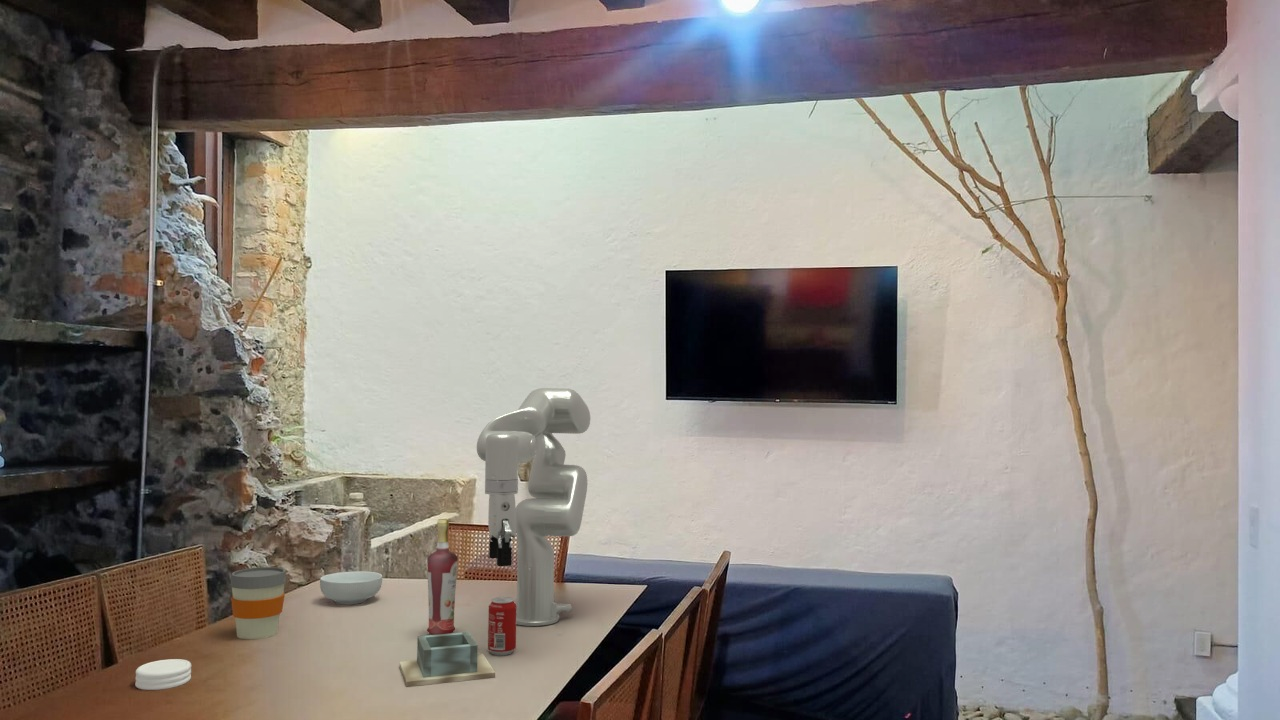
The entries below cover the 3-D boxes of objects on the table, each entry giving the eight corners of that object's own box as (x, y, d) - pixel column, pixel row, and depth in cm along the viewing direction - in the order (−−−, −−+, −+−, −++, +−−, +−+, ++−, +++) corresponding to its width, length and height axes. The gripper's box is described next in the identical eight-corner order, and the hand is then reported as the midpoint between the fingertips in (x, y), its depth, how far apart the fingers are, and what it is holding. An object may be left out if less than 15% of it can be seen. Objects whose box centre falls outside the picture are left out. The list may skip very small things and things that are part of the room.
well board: (482, 658, 197) (483, 628, 197) (495, 677, 183) (495, 645, 184) (399, 666, 190) (400, 635, 190) (406, 686, 177) (407, 654, 177)
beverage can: (520, 650, 203) (521, 597, 204) (507, 657, 197) (508, 603, 198) (496, 647, 205) (497, 595, 206) (482, 654, 199) (483, 601, 200)
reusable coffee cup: (294, 634, 214) (295, 572, 215) (242, 644, 205) (243, 579, 206) (271, 624, 223) (272, 564, 223) (220, 634, 214) (221, 571, 214)
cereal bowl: (394, 599, 251) (395, 574, 251) (346, 611, 237) (347, 585, 237) (354, 592, 260) (355, 567, 260) (306, 603, 246) (307, 577, 246)
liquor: (448, 640, 211) (451, 522, 212) (420, 637, 212) (422, 521, 213) (461, 631, 218) (463, 518, 219) (433, 630, 219) (435, 517, 220)
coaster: (131, 694, 172) (132, 675, 172) (138, 678, 181) (138, 661, 181) (189, 687, 176) (189, 669, 176) (192, 672, 185) (193, 656, 185)
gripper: (525, 490, 196) (524, 568, 195) (510, 483, 212) (508, 554, 211) (491, 491, 193) (490, 569, 193) (478, 483, 210) (477, 556, 209)
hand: (500, 561), depth 202 cm, fingers open, 9 cm apart
